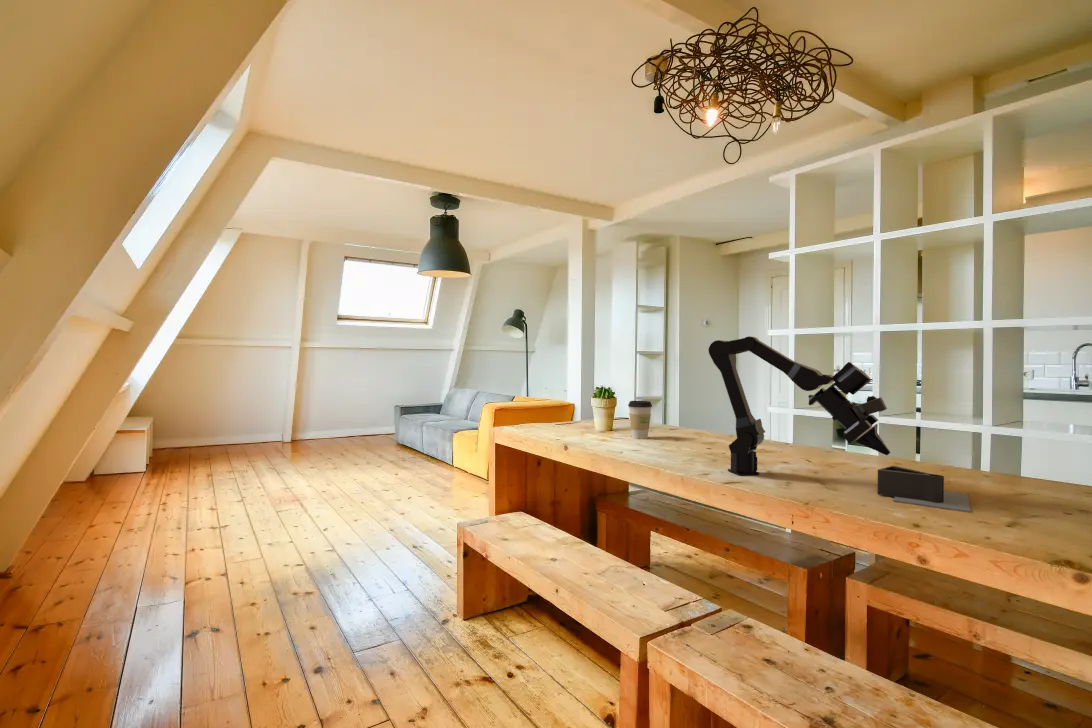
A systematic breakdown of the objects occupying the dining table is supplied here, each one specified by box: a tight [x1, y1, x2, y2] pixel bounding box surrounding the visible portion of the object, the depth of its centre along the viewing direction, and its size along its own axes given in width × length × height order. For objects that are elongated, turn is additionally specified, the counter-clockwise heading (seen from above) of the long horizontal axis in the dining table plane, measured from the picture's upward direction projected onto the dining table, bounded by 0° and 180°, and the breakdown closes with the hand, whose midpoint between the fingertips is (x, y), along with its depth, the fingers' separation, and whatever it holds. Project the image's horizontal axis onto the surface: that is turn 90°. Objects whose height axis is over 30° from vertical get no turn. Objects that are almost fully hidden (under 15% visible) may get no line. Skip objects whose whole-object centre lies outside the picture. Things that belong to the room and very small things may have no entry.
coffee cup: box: [627, 400, 653, 440], centre depth 217 cm, size 10×10×15 cm
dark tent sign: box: [876, 465, 945, 503], centre depth 126 cm, size 9×6×12 cm
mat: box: [893, 490, 971, 513], centre depth 126 cm, size 14×18×1 cm
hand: (888, 453), depth 131 cm, fingers closed
